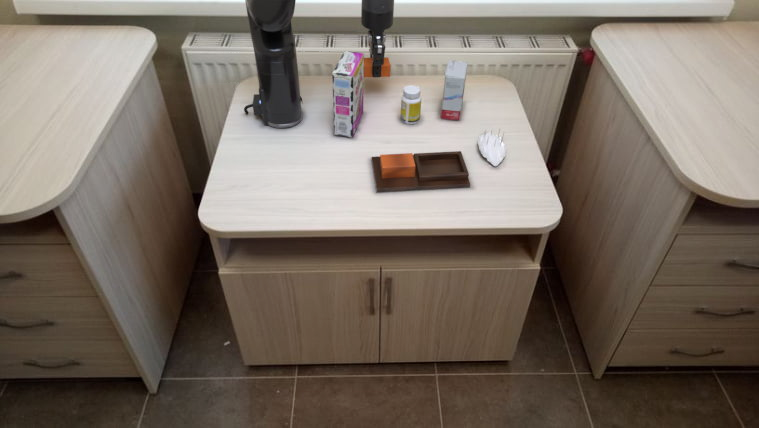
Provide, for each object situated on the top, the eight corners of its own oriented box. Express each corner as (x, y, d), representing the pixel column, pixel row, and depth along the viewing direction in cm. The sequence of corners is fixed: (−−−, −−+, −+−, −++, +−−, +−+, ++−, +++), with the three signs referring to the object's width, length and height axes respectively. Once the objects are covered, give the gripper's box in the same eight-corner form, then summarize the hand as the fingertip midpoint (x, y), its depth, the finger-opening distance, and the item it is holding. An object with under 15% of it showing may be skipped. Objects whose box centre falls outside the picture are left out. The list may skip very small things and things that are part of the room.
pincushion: (473, 135, 129) (477, 115, 125) (499, 135, 129) (503, 115, 125) (481, 167, 120) (485, 146, 117) (508, 167, 121) (513, 146, 117)
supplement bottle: (422, 117, 134) (425, 87, 129) (415, 126, 131) (417, 96, 126) (404, 112, 136) (406, 82, 130) (397, 121, 133) (398, 91, 127)
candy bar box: (354, 138, 127) (353, 76, 116) (333, 136, 128) (330, 73, 117) (364, 113, 135) (364, 52, 124) (345, 110, 136) (343, 49, 125)
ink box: (459, 121, 133) (465, 78, 125) (439, 118, 134) (444, 76, 126) (462, 103, 139) (468, 61, 131) (443, 100, 140) (448, 58, 132)
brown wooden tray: (376, 192, 114) (376, 178, 111) (371, 160, 121) (371, 145, 119) (469, 187, 115) (472, 172, 113) (459, 155, 123) (461, 141, 121)
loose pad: (362, 77, 135) (362, 66, 133) (360, 68, 139) (360, 57, 137) (390, 76, 136) (390, 65, 134) (387, 68, 139) (388, 57, 137)
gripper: (358, -7, 130) (358, 58, 142) (364, 18, 120) (363, 86, 132) (389, -8, 131) (386, 58, 143) (398, 17, 121) (393, 86, 132)
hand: (375, 71), depth 137 cm, fingers closed on loose pad, 4 cm apart
